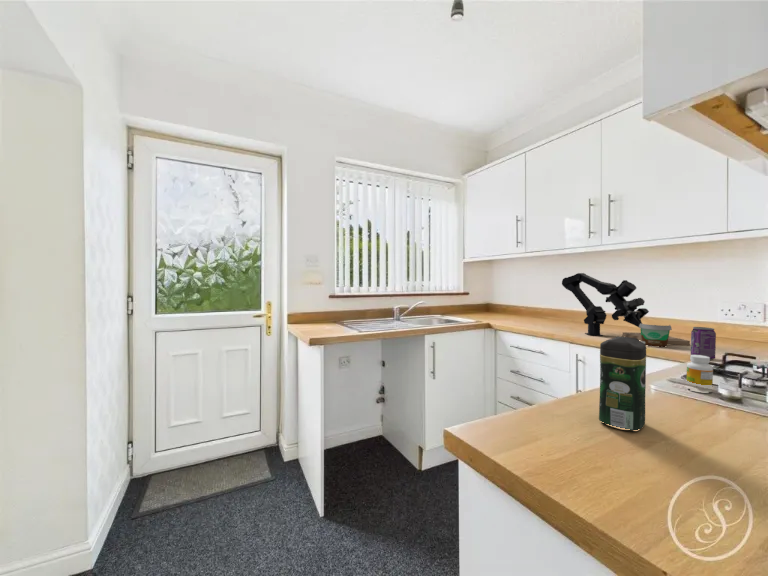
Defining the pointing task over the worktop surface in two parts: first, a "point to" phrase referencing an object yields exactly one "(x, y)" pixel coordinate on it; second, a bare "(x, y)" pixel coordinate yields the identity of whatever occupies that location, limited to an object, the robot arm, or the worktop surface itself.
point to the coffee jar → (622, 382)
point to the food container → (655, 334)
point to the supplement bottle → (700, 370)
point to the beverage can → (703, 342)
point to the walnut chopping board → (670, 340)
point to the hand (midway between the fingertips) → (642, 327)
